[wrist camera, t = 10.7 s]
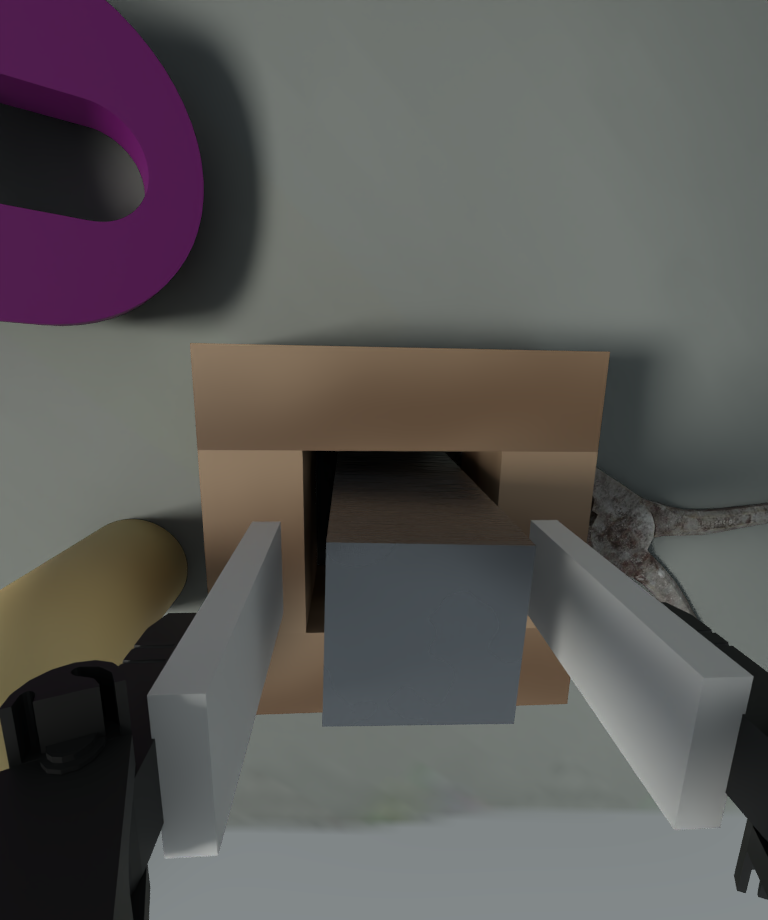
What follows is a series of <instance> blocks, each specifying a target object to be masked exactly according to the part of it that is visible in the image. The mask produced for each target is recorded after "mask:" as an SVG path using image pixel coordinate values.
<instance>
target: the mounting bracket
mask: <svg viewBox="0 0 768 920" xmlns="http://www.w3.org/2000/svg"><path fill="white" fill-rule="evenodd" d="M0 103H2V104H6V105H10V106H13V107H17V108H21V109H24V110H28V111H32V112H35V113H39V114H43V115H46V116H50V117H54V118H57V119H61V120H65V121H68V122H72V123H76V124H79V125H83V126H87V127H90V128H93V129H96V130H98V131H100V132H102V133H104V134H106V135H107V136H109V137H111V138H112V139H113V140H115V141H116V142H117V143H118V144H120V145H121V146H122V147H123V148H124V149H125V150H126V151H127V153H128V154H129V155H130V156H131V158H132V159H133V161H134V162H135V164H136V165H137V167H138V169H139V171H140V174H141V177H142V179H143V184H144V190H145V197H144V199H143V201H142V203H141V204H140V206H139V207H138V208H137V209H136V210H135V211H134V212H132V213H131V214H130V215H128V216H126V217H124V218H122V219H119V220H115V221H109V222H96V221H89V220H84V219H78V218H73V217H68V216H62V215H57V214H52V213H46V212H41V211H36V210H30V209H25V208H20V207H14V206H9V205H4V204H0V321H3V322H14V323H26V324H37V325H53V326H71V325H84V324H90V323H97V322H101V321H104V320H108V319H112V318H115V317H117V316H120V315H123V314H125V313H128V312H129V311H131V310H133V309H135V308H137V307H139V306H141V305H142V304H144V303H145V302H146V301H148V300H149V299H151V298H152V297H153V296H154V295H155V294H157V293H158V292H159V291H160V290H161V289H162V288H163V287H164V286H165V285H166V284H167V283H168V282H169V281H170V280H171V279H172V277H173V276H174V275H175V274H176V273H177V272H178V270H179V269H180V267H181V266H182V264H183V263H184V261H185V260H186V258H187V256H188V254H189V252H190V250H191V248H192V246H193V244H194V241H195V238H196V235H197V232H198V229H199V225H200V220H201V216H202V208H203V198H204V180H203V171H202V162H201V157H200V152H199V147H198V143H197V140H196V136H195V133H194V130H193V126H192V123H191V121H190V118H189V116H188V113H187V111H186V108H185V106H184V104H183V102H182V100H181V98H180V96H179V94H178V92H177V90H176V88H175V86H174V84H173V82H172V81H171V79H170V77H169V76H168V74H167V72H166V71H165V69H164V67H163V66H162V64H161V63H160V62H159V60H158V59H157V57H156V56H155V54H154V53H153V52H152V50H151V49H150V47H149V46H148V45H147V44H146V43H145V41H144V40H143V39H142V38H141V36H140V35H139V34H138V33H137V32H136V30H135V29H134V28H133V27H132V26H131V25H130V24H129V23H128V22H127V21H126V20H125V19H124V18H123V17H122V15H121V14H120V13H119V12H118V11H117V10H116V9H114V8H113V7H112V6H111V5H110V4H109V3H108V2H107V1H106V0H0Z"/></svg>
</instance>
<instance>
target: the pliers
mask: <svg viewBox="0 0 768 920" xmlns="http://www.w3.org/2000/svg"><path fill="white" fill-rule="evenodd" d="M591 510H592V512H591V514H590V520H589V528H588V536H587V544H588V545H589V546H590V547H592V548H593V549H594V550H595V551H597V552H598V553H599V554H600V555H602V556H603V557H604V558H605V559H607V560H608V561H609V562H610V563H612V564H613V565H614V566H615V567H617V568H618V569H619V570H620V571H622V572H623V573H624V574H625V575H627V576H629V577H631V578H634V579H636V580H637V581H639V582H640V583H642V584H643V585H644V586H645V587H646V588H647V589H648V590H649V591H650V592H651V593H652V594H653V595H654V596H655V597H656V599H657V600H658V601H659V602H667V603H669V604H671V605H673V606H675V607H677V608H679V609H681V610H683V611H685V612H687V613H689V614H691V615H693V616H694V617H695V618H697V617H696V616H695V614H694V612H693V611H692V609H691V607H690V605H689V603H688V601H687V599H686V597H685V596H684V594H683V593H682V591H681V590H680V588H679V586H678V585H677V583H676V582H675V581H674V579H673V578H672V577H671V576H670V575H669V573H668V572H667V571H666V570H665V569H664V567H663V566H662V565H661V564H660V563H659V562H658V561H657V560H656V559H655V558H654V557H653V556H652V555H651V554H650V553H649V551H648V547H649V545H650V543H651V542H652V540H653V538H655V537H660V536H683V535H704V534H711V533H717V532H724V531H729V530H733V529H738V528H743V527H749V526H754V525H760V524H766V523H768V503H763V504H754V505H745V506H736V507H728V508H717V509H680V508H675V507H670V506H666V505H664V504H660V503H657V502H654V501H650V500H647V499H644V498H642V497H640V496H639V495H637V494H636V493H634V492H633V491H631V490H630V489H628V488H627V487H625V486H624V485H622V484H621V483H619V482H618V481H616V480H615V479H613V478H612V477H610V476H609V475H607V474H606V473H604V472H603V471H601V470H599V469H598V468H596V471H595V479H594V487H593V495H592V504H591Z"/></svg>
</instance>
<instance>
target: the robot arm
mask: <svg viewBox="0 0 768 920" xmlns="http://www.w3.org/2000/svg"><path fill="white" fill-rule="evenodd" d="M529 539H530V540H531V541H532V542H533V543H534V544H535V545H536V553H535V561H534V568H533V576H532V584H531V592H530V600H529V608H528V616H529V617H530V619H531V620H532V622H533V623H534V625H535V626H536V628H537V629H538V631H539V632H540V634H541V635H542V637H543V638H544V640H545V641H546V642H547V644H548V645H549V647H550V648H551V650H552V651H553V653H554V654H555V656H556V657H557V659H558V660H559V662H560V663H561V664H562V666H563V667H564V669H565V670H566V672H567V673H568V675H569V676H570V678H571V679H572V681H573V682H574V684H575V685H576V686H577V688H578V689H579V691H580V692H581V694H582V695H583V697H584V698H585V700H586V701H587V703H588V704H589V706H590V707H591V709H592V710H593V711H594V713H595V714H596V716H597V717H598V719H599V720H600V722H601V723H602V725H603V726H604V728H605V729H606V731H607V732H608V733H609V735H610V736H611V738H612V739H613V741H614V742H615V744H616V745H617V747H618V748H619V750H620V751H621V753H622V754H623V755H624V757H625V758H626V760H627V761H628V763H629V764H630V766H631V767H632V769H633V770H634V772H635V773H636V775H637V776H638V778H639V779H640V780H641V782H642V783H643V785H644V786H645V788H646V789H647V791H648V792H649V794H650V795H651V797H652V798H653V800H654V801H655V802H656V804H657V805H658V807H659V808H660V810H661V811H662V813H663V814H664V816H665V817H666V819H667V820H668V822H669V823H670V824H671V826H672V827H673V829H674V830H687V829H705V828H720V826H721V821H722V817H723V813H724V808H725V804H726V799H727V795H728V796H729V797H730V799H731V800H732V801H733V802H734V803H735V804H736V806H737V807H738V808H739V809H740V810H741V811H742V813H743V814H744V815H745V816H746V817H747V818H748V819H747V823H746V827H745V831H744V836H743V840H742V844H741V848H740V853H739V857H738V861H737V866H736V870H735V874H734V877H735V883H736V887H737V891H740V892H743V893H746V890H747V886H748V882H749V878H750V874H751V870H752V869H755V870H756V873H757V875H758V877H759V879H760V883H759V888H758V897H761V898H764V899H768V672H767V671H765V670H764V669H763V668H761V667H760V666H759V665H757V664H756V663H755V662H753V661H752V660H751V659H749V658H748V657H747V656H745V655H744V654H743V653H741V652H740V651H739V650H738V649H736V648H735V647H734V646H729V644H728V642H727V641H726V640H724V639H723V638H722V637H720V636H719V635H718V634H716V633H712V631H711V629H710V628H709V627H707V626H706V625H705V624H703V623H702V622H701V621H699V620H698V619H697V618H695V617H694V616H693V615H691V614H689V613H687V612H685V611H683V610H681V609H679V608H677V607H675V606H673V605H671V604H669V603H667V602H659V601H658V600H657V599H656V598H654V597H653V596H652V595H651V594H649V593H648V592H647V591H646V590H644V589H643V588H642V587H641V586H639V585H638V584H637V583H636V582H634V581H633V580H632V579H631V578H629V577H628V576H627V575H625V574H624V573H623V572H622V571H620V570H619V569H618V568H617V567H615V566H614V565H613V564H612V563H610V562H609V561H608V560H607V559H605V558H604V557H603V556H602V555H600V554H599V553H598V552H597V551H595V550H594V549H593V548H592V547H590V546H589V545H588V544H587V543H585V542H584V541H583V540H581V539H580V538H579V537H578V536H576V535H575V534H574V533H573V532H571V531H570V530H569V529H568V528H566V527H565V526H564V525H563V524H561V523H560V522H559V521H558V520H531V525H530V535H529ZM282 616H283V583H282V551H281V522H252V523H251V525H250V526H249V528H248V530H247V531H246V533H245V534H244V536H243V538H242V539H241V541H240V543H239V544H238V546H237V548H236V549H235V551H234V553H233V554H232V556H231V558H230V559H229V561H228V563H227V564H226V566H225V567H224V569H223V571H222V572H221V574H220V576H219V577H218V579H217V581H216V582H215V584H214V586H213V587H212V589H211V591H210V592H209V594H208V596H207V597H206V599H205V600H204V602H203V604H202V605H201V607H200V609H199V610H198V612H197V613H168V614H167V615H166V616H164V617H163V618H161V619H160V620H158V621H157V622H155V623H154V624H152V625H151V626H150V627H148V628H147V629H146V630H145V632H144V633H143V634H142V636H141V637H140V638H139V640H138V641H137V642H136V644H135V645H134V649H131V650H130V652H129V653H128V654H127V656H126V657H125V658H124V660H123V664H120V665H119V666H117V665H116V664H114V663H113V662H107V661H99V660H92V661H83V662H75V663H71V664H68V665H65V666H61V667H58V668H55V669H52V670H50V671H47V672H45V673H43V674H41V675H39V676H37V677H35V678H33V679H31V680H29V681H28V682H26V683H25V684H24V685H22V686H21V687H20V688H18V689H17V690H16V691H14V692H13V693H12V694H10V695H9V697H8V698H7V699H6V701H5V702H4V703H3V704H2V706H1V707H0V722H1V727H2V732H3V737H4V743H5V748H6V753H7V758H8V764H9V769H6V770H3V771H0V920H149V904H150V881H149V873H148V865H147V863H148V861H149V859H150V856H151V854H152V851H153V849H154V846H155V843H156V841H157V838H158V836H159V834H160V831H161V830H162V838H163V839H162V840H163V848H164V858H181V857H200V856H217V855H218V854H219V850H220V846H221V843H222V839H223V835H224V832H225V828H226V824H227V821H228V817H229V813H230V809H231V806H232V802H233V798H234V794H235V791H236V787H237V783H238V780H239V776H240V772H241V768H242V765H243V761H244V757H245V754H246V750H247V746H248V742H249V739H250V735H251V731H252V727H253V724H254V720H255V716H256V713H257V709H258V705H259V701H260V698H261V694H262V690H263V687H264V683H265V679H266V675H267V672H268V668H269V664H270V660H271V657H272V653H273V649H274V646H275V642H276V638H277V634H278V631H279V627H280V623H281V620H282Z"/></svg>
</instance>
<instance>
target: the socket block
mask: <svg viewBox="0 0 768 920" xmlns="http://www.w3.org/2000/svg"><path fill="white" fill-rule="evenodd" d="M190 349H191V363H192V377H193V391H194V405H195V419H196V434H197V448H198V462H199V476H200V490H201V504H202V518H203V533H204V547H205V561H206V575H207V589H208V594H209V592H210V591H211V589H212V587H213V586H214V584H215V582H216V581H217V579H218V577H219V576H220V574H221V572H222V571H223V569H224V567H225V566H226V564H227V563H228V561H229V559H230V558H231V556H232V554H233V553H234V551H235V549H236V548H237V546H238V544H239V543H240V541H241V539H242V538H243V536H244V534H245V533H246V531H247V530H248V528H249V526H250V525H251V523H252V522H281V551H282V583H283V616H282V620H281V623H280V627H279V631H278V634H277V638H276V642H275V646H274V649H273V653H272V657H271V660H270V664H269V668H268V672H267V675H266V679H265V683H264V687H263V690H262V694H261V698H260V701H259V705H258V709H257V713H256V715H259V714H288V713H317V712H323V669H324V623H325V577H326V565H317V497H316V451H462V461H461V469H462V470H463V472H464V473H465V474H466V475H467V476H468V477H469V478H470V479H471V480H472V481H473V482H474V483H475V484H476V485H477V486H478V487H479V488H480V489H481V490H482V491H483V492H484V493H485V494H486V495H487V496H488V497H489V498H490V499H491V500H492V501H493V502H494V503H495V504H496V505H497V506H498V507H499V508H500V509H501V510H502V511H503V512H504V513H505V514H506V515H507V516H508V517H509V518H510V519H511V520H512V521H513V522H514V524H515V525H516V526H517V527H518V528H519V529H520V530H521V531H522V532H523V533H524V534H525V535H526V536H527V537H528V538H529V535H530V525H531V520H558V521H559V522H560V523H561V524H563V525H564V526H565V527H566V528H568V529H569V530H570V531H571V532H573V533H574V534H575V535H576V536H578V537H579V538H580V539H581V540H583V541H584V542H585V543H587V536H588V528H589V520H590V512H591V504H592V495H593V487H594V479H595V471H596V463H597V454H598V446H599V438H600V430H601V422H602V413H603V405H604V397H605V389H606V381H607V372H608V364H609V356H610V352H595V351H546V350H498V349H449V348H401V347H352V346H304V345H255V344H207V343H190ZM569 684H570V676H569V675H568V673H567V672H566V670H565V669H564V667H563V666H562V664H561V663H560V662H559V660H558V659H557V657H556V656H555V654H554V653H553V651H552V650H551V648H550V647H549V645H548V644H547V642H546V641H545V640H544V638H543V637H542V635H541V634H540V632H539V631H538V629H537V628H536V626H535V625H534V623H533V622H532V620H531V619H530V617H529V616H527V623H526V631H525V639H524V647H523V655H522V663H521V671H520V678H519V686H518V694H517V702H516V706H519V705H547V704H567V700H568V692H569Z"/></svg>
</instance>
